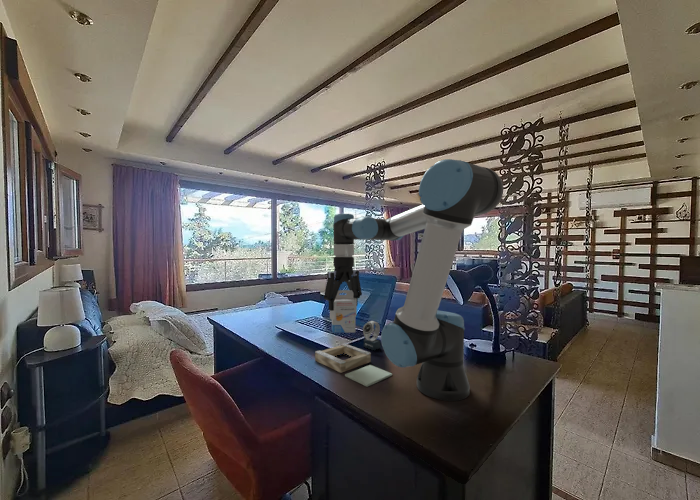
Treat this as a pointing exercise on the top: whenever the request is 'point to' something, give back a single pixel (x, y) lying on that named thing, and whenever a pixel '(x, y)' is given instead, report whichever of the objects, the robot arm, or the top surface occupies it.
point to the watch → (367, 330)
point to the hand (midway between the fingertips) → (343, 317)
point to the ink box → (344, 313)
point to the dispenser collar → (340, 365)
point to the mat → (368, 375)
